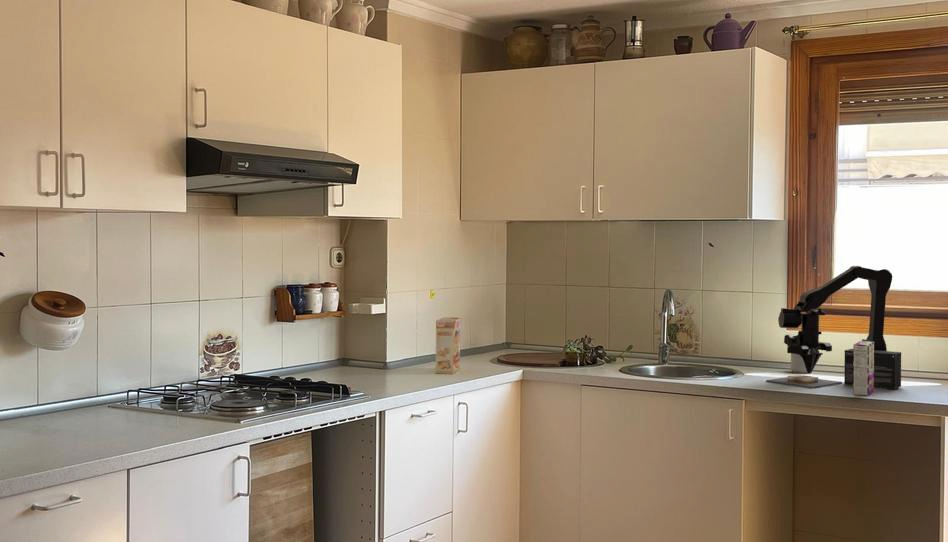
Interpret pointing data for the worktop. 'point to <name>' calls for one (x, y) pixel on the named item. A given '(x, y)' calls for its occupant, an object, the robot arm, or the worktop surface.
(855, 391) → the candy bar box
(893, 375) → the box
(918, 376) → the worktop surface
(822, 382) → the mat
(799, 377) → the tile
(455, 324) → the coffeecake box
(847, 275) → the robot arm
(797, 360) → the can
